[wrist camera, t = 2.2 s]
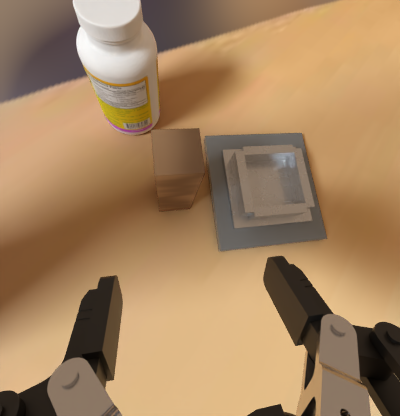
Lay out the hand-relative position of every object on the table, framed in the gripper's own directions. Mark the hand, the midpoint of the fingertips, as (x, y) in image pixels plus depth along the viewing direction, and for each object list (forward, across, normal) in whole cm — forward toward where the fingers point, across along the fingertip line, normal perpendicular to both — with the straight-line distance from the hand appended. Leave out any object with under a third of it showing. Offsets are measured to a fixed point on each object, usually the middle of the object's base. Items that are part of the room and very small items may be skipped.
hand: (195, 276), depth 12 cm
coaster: (+15, -11, +3) cm, 19 cm away
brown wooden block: (+15, 0, +3) cm, 16 cm away
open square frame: (+15, -11, +3) cm, 18 cm away
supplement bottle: (+23, +4, -4) cm, 24 cm away
